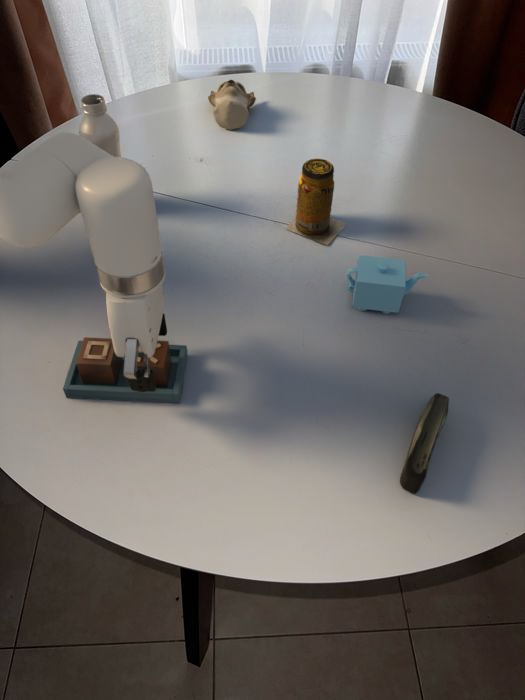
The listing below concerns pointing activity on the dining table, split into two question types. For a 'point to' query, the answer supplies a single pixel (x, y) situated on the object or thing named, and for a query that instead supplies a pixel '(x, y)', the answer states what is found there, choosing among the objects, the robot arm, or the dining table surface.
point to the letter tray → (123, 389)
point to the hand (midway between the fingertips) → (150, 360)
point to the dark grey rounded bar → (424, 443)
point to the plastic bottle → (99, 125)
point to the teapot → (380, 283)
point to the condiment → (316, 203)
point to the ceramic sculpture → (231, 104)
